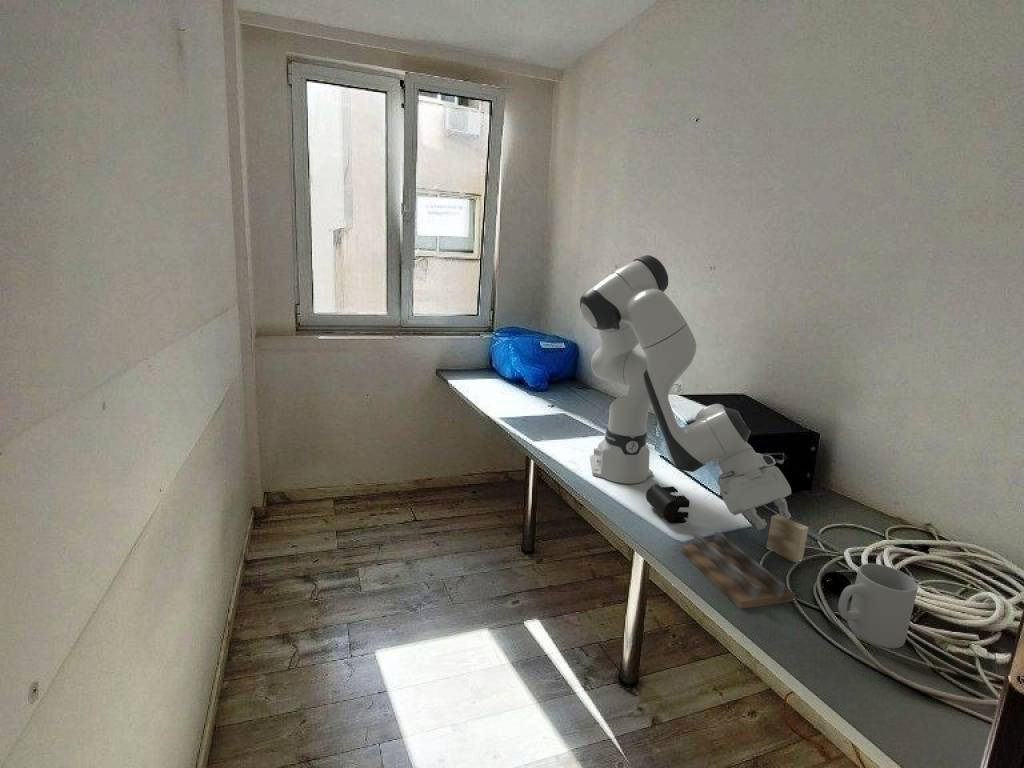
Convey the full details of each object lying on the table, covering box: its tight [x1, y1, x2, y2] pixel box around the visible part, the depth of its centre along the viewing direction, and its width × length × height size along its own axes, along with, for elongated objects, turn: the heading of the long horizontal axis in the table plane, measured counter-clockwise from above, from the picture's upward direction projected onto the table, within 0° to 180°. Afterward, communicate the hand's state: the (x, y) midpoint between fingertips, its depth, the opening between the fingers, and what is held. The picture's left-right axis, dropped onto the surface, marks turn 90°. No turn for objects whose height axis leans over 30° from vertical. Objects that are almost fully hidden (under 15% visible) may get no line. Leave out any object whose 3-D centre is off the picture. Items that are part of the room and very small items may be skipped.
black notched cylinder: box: [645, 483, 691, 525], centre depth 130 cm, size 10×7×7 cm
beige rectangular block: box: [766, 513, 809, 563], centre depth 114 cm, size 7×2×8 cm, turn 33°
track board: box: [680, 531, 796, 610], centre depth 106 cm, size 20×12×4 cm, turn 14°
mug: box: [838, 563, 919, 649], centre depth 89 cm, size 12×8×11 cm
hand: (775, 523), depth 115 cm, fingers open, 8 cm apart
